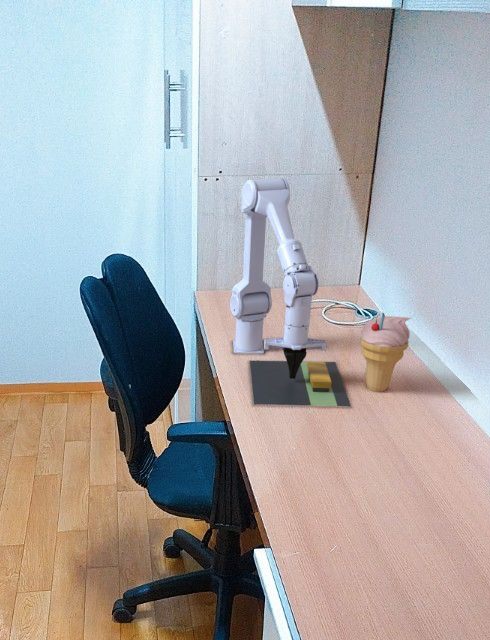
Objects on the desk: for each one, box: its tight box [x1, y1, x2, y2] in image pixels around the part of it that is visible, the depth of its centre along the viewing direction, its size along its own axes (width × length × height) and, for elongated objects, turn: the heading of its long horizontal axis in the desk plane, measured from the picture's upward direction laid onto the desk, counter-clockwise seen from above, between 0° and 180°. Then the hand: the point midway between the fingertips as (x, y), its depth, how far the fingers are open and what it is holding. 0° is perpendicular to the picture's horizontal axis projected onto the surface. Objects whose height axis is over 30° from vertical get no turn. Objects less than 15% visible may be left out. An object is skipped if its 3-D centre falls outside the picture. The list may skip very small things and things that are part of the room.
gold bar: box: [306, 361, 332, 392], centre depth 177 cm, size 12×4×3 cm, turn 178°
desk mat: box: [249, 360, 351, 407], centre depth 178 cm, size 26×22×1 cm
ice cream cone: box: [359, 312, 412, 393], centre depth 170 cm, size 11×11×20 cm
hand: (292, 376), depth 177 cm, fingers closed
